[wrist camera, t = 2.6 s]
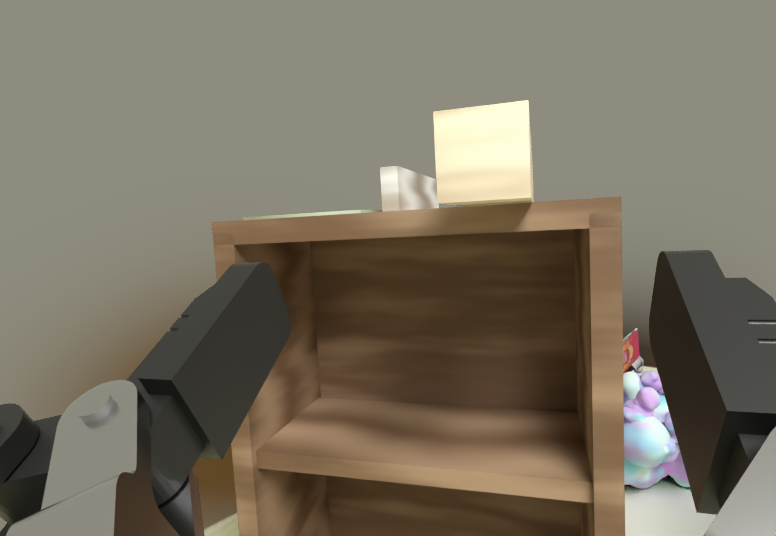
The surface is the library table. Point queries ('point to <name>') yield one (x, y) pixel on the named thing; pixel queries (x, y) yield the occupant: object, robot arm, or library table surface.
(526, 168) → the maple stick
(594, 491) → the dovetailed wooden cabinet
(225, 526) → the library table surface
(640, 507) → the library table surface
